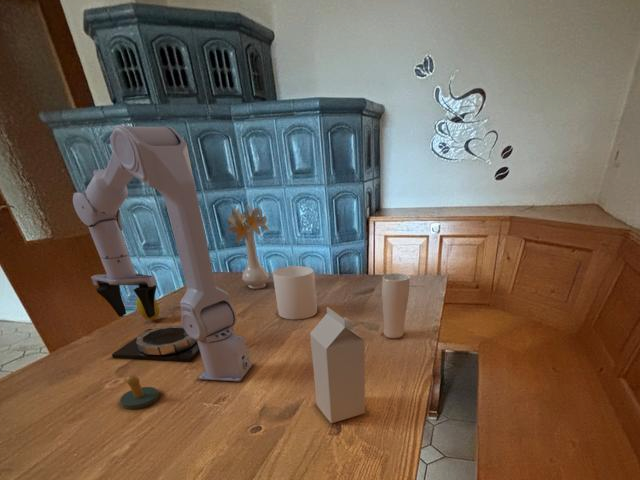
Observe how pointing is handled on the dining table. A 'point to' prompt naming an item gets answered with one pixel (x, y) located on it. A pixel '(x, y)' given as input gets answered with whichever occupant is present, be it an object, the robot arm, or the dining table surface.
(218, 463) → the dining table surface
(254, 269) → the flower vase
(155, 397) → the stand
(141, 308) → the lemon
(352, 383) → the milk carton
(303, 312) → the cup
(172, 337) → the hob plate
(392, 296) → the drinking glass
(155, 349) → the tan flat ring
